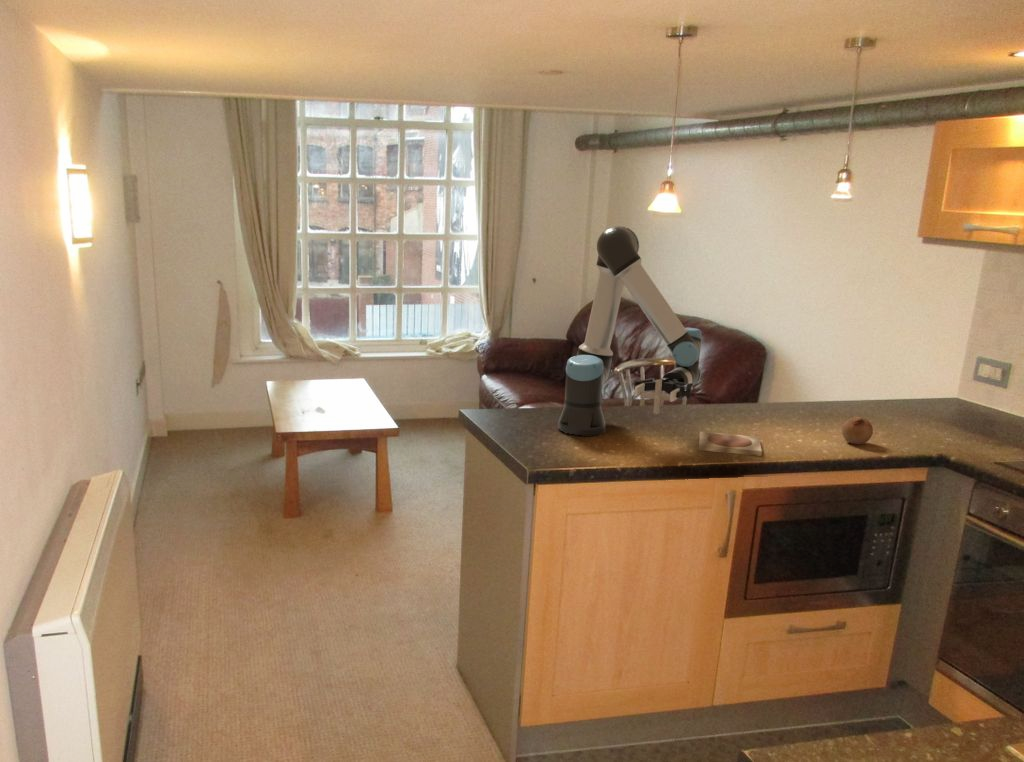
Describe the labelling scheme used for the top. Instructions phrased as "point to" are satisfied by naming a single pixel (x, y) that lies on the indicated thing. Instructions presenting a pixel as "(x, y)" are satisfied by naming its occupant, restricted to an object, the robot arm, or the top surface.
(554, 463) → the top surface
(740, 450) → the board
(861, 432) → the onion
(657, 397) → the grey toy jack
